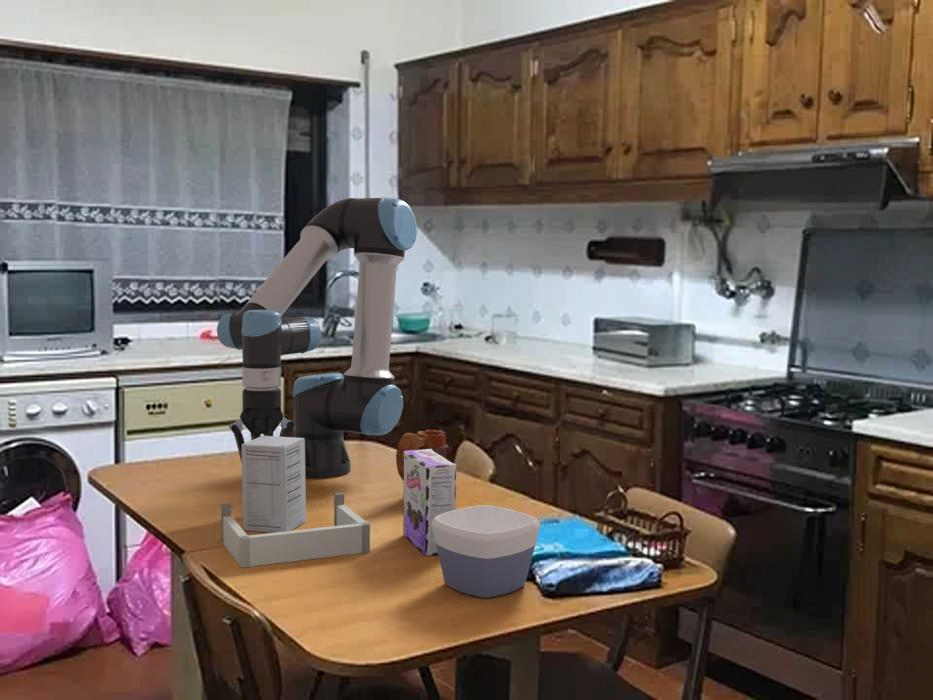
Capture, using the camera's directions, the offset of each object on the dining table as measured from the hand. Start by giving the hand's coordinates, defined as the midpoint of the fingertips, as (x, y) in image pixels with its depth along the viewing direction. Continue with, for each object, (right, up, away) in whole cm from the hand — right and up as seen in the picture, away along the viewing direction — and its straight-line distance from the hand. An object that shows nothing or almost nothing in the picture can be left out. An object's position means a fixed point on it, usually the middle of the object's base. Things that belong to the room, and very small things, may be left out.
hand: (262, 503), depth 210 cm
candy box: (+34, -5, -18) cm, 39 cm away
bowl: (+44, -8, -40) cm, 60 cm away
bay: (+10, -5, -20) cm, 23 cm away
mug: (+31, -1, +14) cm, 34 cm away
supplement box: (+4, -3, -8) cm, 9 cm away
